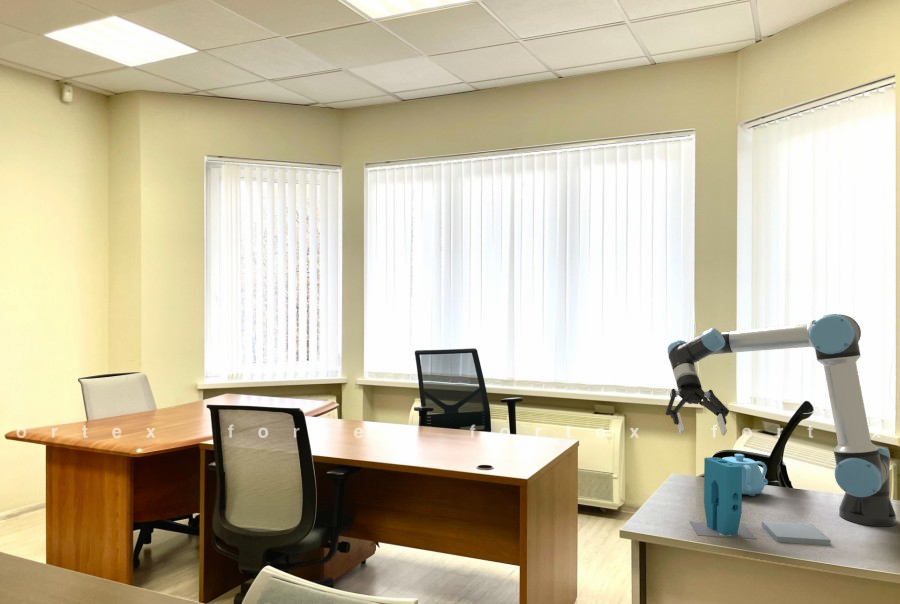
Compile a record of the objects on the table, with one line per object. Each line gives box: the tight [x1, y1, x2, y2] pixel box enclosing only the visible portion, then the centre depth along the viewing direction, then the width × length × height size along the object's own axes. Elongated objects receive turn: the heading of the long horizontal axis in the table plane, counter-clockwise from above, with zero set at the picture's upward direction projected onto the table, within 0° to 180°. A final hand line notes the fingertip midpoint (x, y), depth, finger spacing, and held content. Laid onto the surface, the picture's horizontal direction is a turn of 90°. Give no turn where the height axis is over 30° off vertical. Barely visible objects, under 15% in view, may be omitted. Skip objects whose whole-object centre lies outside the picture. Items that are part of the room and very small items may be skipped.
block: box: [703, 456, 743, 535], centre depth 195 cm, size 12×5×20 cm, turn 13°
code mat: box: [689, 521, 757, 540], centre depth 195 cm, size 16×12×1 cm
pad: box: [761, 520, 832, 546], centre depth 192 cm, size 14×14×2 cm
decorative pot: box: [721, 453, 769, 497], centre depth 237 cm, size 16×16×14 cm
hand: (703, 432), depth 211 cm, fingers open, 13 cm apart
